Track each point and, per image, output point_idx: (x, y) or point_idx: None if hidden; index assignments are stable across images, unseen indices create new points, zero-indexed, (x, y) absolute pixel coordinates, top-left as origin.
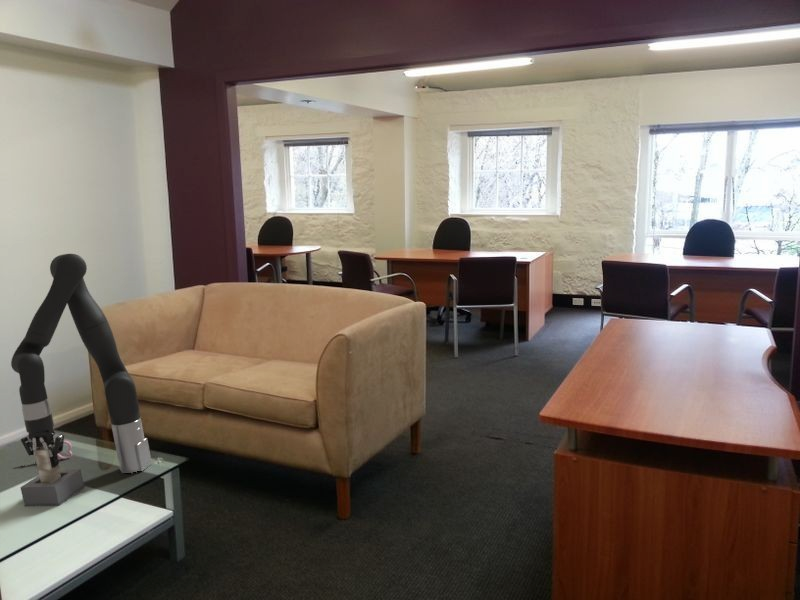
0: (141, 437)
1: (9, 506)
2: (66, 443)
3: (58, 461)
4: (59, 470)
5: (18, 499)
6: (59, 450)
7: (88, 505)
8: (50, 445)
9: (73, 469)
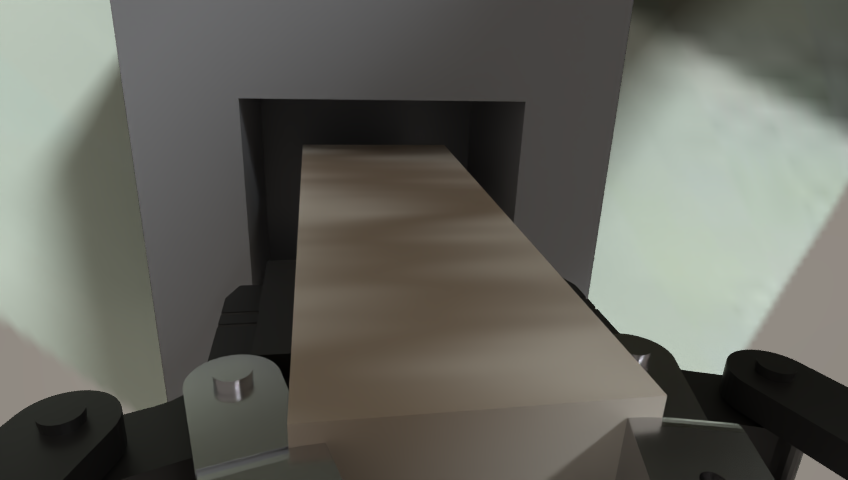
0: None
1: (48, 326)
2: None
3: (581, 294)
4: (473, 183)
5: (4, 211)
6: (798, 454)
7: (730, 302)
8: (538, 406)
9: (540, 8)
